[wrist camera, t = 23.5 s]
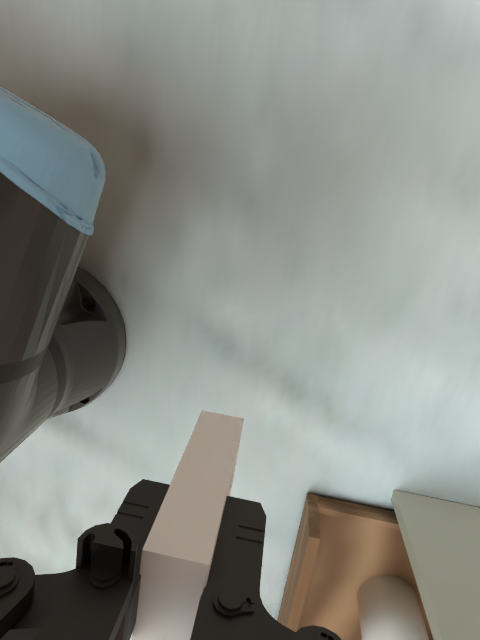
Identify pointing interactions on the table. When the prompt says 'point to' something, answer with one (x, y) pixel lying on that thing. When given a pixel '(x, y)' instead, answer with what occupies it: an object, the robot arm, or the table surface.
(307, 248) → the table surface
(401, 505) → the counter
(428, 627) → the tray
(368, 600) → the beige rounded cylinder
